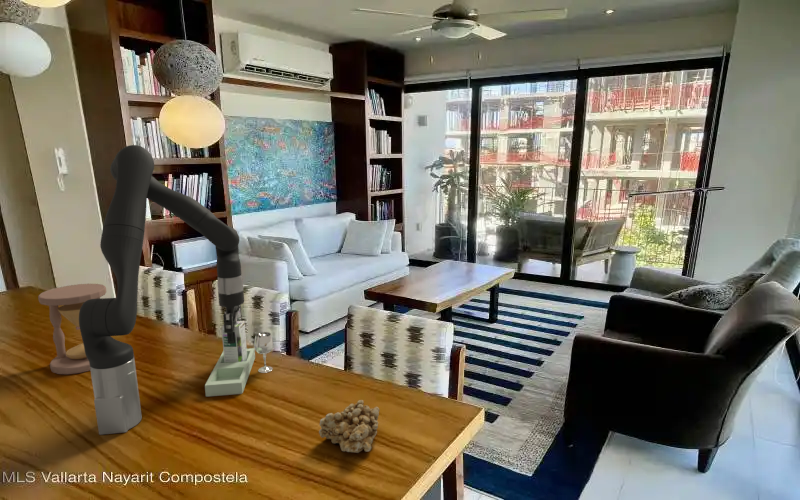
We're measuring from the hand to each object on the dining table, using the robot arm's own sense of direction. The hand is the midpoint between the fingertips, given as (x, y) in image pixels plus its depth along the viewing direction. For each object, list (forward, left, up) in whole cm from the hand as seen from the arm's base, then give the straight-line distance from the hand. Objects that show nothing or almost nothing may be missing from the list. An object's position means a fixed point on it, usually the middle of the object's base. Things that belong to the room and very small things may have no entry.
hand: (234, 337), depth 139 cm
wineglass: (-4, -9, -10) cm, 15 cm away
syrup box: (0, 0, -10) cm, 10 cm away
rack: (-6, 0, -10) cm, 12 cm away
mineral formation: (-44, -36, -10) cm, 58 cm away
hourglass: (+12, +51, -10) cm, 54 cm away
